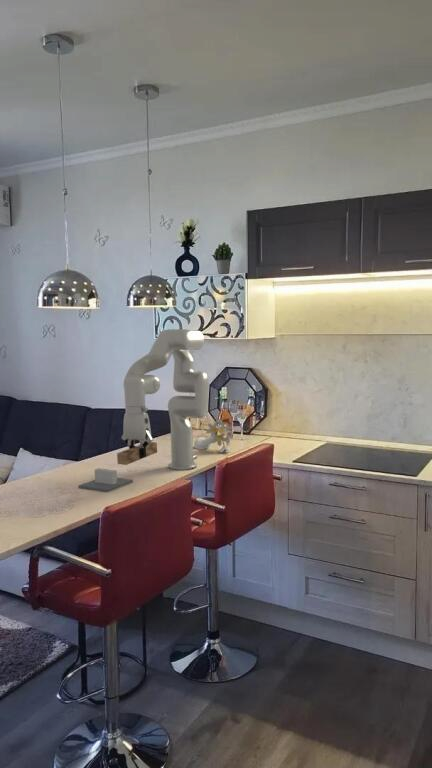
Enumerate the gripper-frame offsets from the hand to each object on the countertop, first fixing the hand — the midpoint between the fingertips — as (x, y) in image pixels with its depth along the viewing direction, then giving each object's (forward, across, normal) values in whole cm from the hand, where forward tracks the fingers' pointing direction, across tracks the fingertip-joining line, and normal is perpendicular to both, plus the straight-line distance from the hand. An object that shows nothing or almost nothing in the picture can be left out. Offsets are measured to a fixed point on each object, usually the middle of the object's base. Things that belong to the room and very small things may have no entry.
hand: (137, 456), depth 226 cm
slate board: (+12, +14, +2) cm, 19 cm away
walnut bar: (0, 0, 0) cm, 1 cm away
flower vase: (+17, +8, -74) cm, 77 cm away
